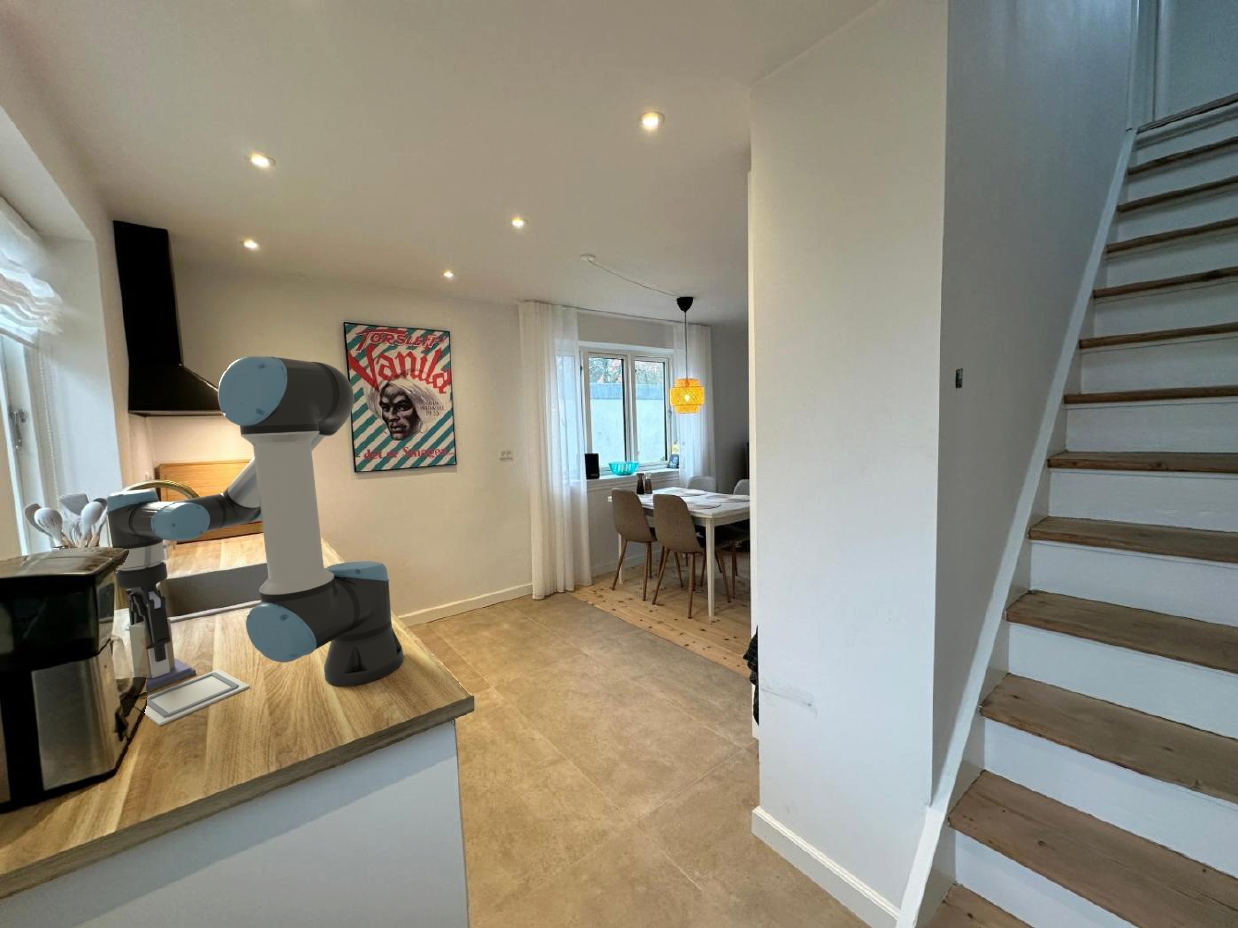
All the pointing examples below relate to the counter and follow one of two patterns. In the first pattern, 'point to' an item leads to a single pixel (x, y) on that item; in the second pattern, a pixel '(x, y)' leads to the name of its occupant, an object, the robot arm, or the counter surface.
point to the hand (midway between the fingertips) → (154, 670)
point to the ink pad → (170, 676)
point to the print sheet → (191, 696)
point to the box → (141, 654)
